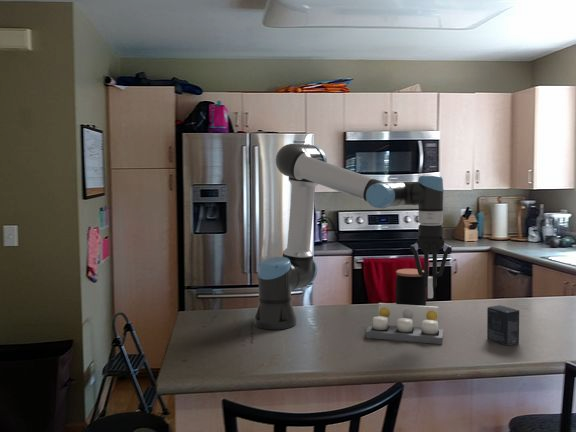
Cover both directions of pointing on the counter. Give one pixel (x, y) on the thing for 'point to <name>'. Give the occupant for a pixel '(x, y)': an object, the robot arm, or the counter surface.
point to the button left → (380, 323)
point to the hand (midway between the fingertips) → (430, 297)
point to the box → (503, 325)
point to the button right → (429, 326)
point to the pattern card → (408, 313)
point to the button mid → (404, 324)
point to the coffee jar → (410, 287)
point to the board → (405, 335)
